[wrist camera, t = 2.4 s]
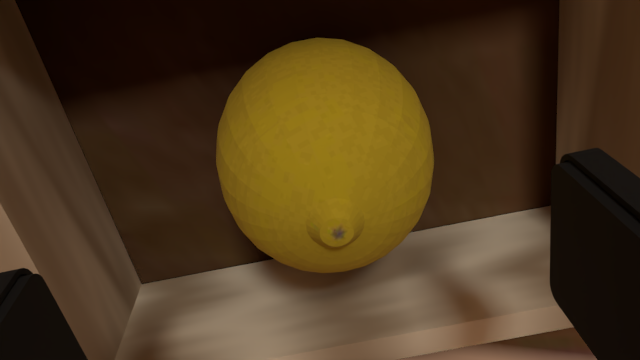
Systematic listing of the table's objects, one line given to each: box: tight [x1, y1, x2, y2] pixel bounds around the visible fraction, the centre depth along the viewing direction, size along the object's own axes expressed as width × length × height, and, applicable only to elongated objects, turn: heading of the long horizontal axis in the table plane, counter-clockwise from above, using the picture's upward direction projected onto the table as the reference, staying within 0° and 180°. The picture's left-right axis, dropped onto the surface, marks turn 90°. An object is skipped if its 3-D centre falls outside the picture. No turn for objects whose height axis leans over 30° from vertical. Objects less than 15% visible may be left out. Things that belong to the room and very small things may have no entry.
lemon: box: [216, 38, 434, 273], centre depth 14 cm, size 6×6×8 cm
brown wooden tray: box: [0, 0, 640, 360], centre depth 15 cm, size 18×14×5 cm
